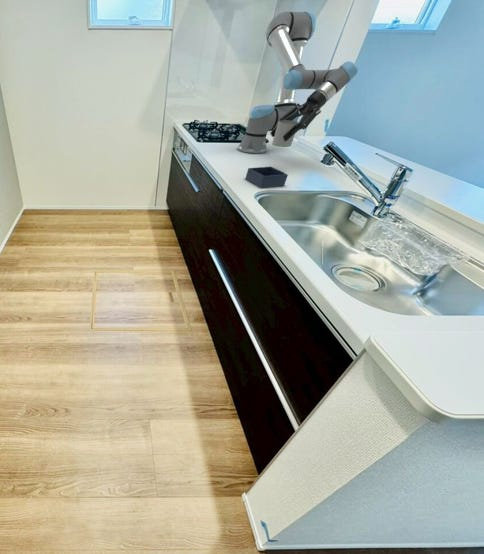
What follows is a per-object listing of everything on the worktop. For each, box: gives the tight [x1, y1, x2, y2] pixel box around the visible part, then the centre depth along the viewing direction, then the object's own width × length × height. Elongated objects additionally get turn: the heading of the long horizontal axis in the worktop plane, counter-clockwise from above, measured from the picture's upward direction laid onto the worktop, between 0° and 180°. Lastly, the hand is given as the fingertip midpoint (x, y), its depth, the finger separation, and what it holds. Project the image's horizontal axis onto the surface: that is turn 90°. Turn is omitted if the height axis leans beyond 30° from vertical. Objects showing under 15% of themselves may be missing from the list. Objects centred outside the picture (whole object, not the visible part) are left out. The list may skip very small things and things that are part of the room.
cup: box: [271, 120, 299, 148], centre depth 140 cm, size 8×8×10 cm
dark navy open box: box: [245, 166, 289, 189], centre depth 132 cm, size 12×12×5 cm
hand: (277, 136), depth 141 cm, fingers closed on cup, 8 cm apart
